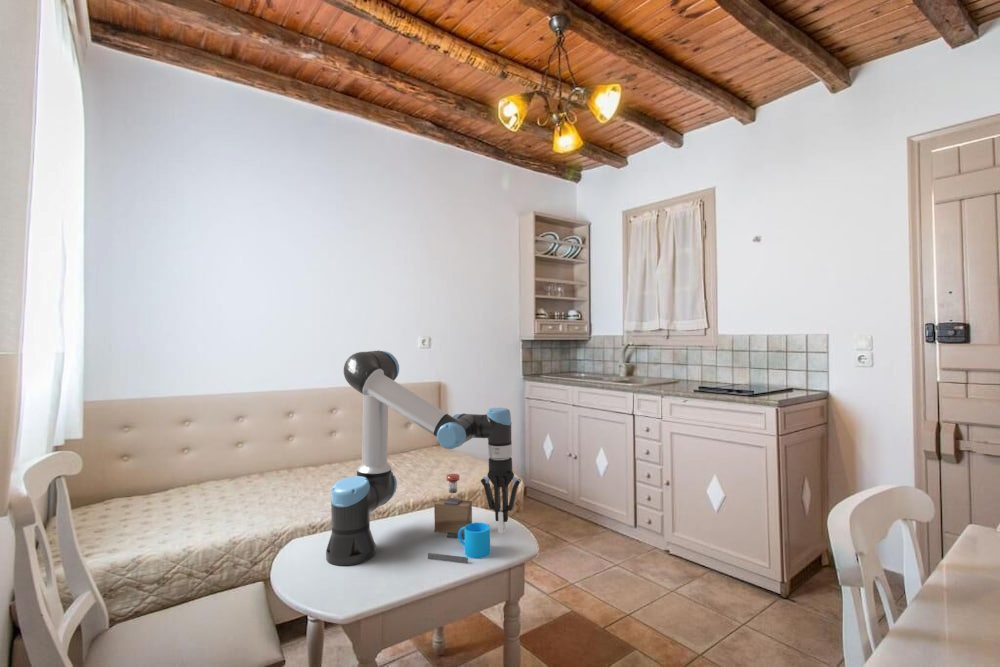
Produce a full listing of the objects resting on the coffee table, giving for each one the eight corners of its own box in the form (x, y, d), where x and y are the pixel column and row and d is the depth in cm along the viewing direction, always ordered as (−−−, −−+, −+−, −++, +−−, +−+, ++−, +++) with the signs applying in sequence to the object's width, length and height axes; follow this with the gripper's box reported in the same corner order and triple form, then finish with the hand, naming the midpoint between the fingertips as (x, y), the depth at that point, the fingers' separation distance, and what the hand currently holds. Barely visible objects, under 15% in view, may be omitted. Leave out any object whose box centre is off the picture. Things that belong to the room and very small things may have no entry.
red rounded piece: (444, 493, 172) (444, 477, 172) (449, 489, 176) (449, 473, 176) (456, 494, 170) (456, 477, 170) (461, 490, 175) (461, 474, 175)
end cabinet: (466, 535, 169) (466, 505, 169) (434, 532, 172) (434, 502, 172) (472, 528, 175) (471, 499, 175) (441, 525, 178) (440, 496, 178)
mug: (495, 551, 156) (494, 526, 156) (479, 561, 150) (479, 534, 150) (466, 542, 163) (466, 518, 163) (450, 551, 157) (450, 526, 157)
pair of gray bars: (427, 558, 152) (427, 553, 152) (447, 536, 168) (447, 532, 168) (467, 563, 148) (467, 558, 148) (483, 540, 165) (483, 536, 165)
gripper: (477, 459, 152) (478, 534, 152) (517, 461, 149) (519, 538, 149) (484, 453, 159) (485, 525, 159) (522, 455, 156) (524, 528, 156)
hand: (502, 531), depth 154 cm, fingers closed
